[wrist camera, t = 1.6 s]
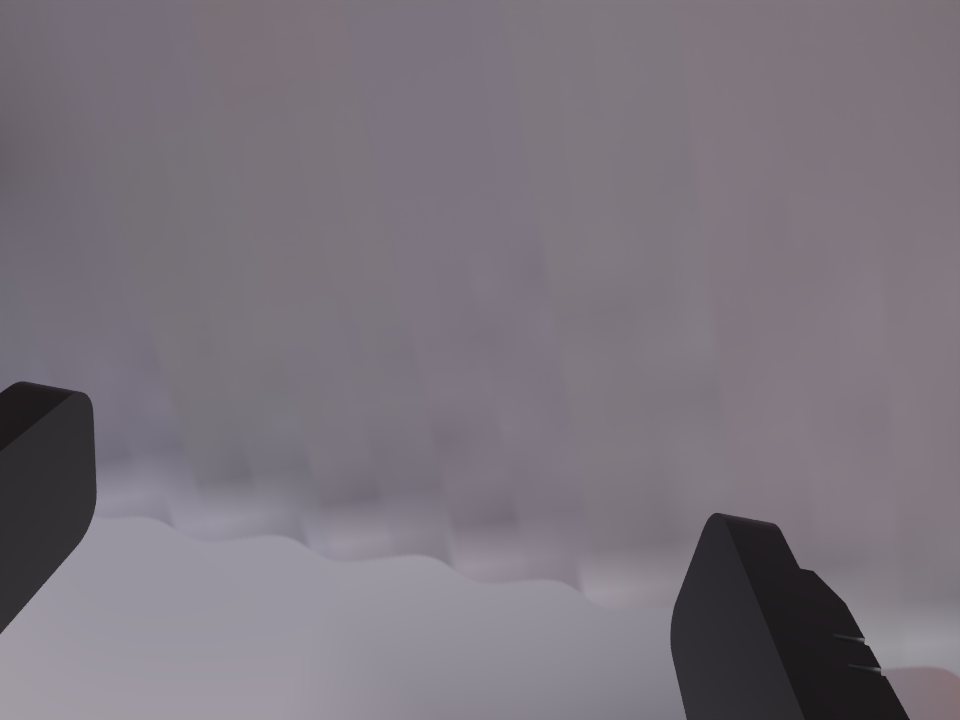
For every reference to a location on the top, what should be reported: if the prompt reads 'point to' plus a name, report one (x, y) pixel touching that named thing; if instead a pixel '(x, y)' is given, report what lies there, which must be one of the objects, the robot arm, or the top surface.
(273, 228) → the top surface
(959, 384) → the top surface
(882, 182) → the top surface
